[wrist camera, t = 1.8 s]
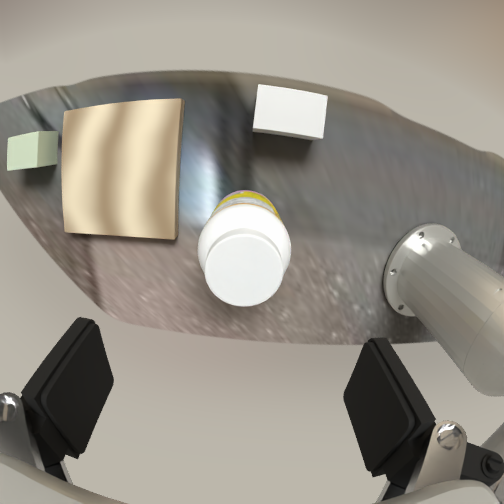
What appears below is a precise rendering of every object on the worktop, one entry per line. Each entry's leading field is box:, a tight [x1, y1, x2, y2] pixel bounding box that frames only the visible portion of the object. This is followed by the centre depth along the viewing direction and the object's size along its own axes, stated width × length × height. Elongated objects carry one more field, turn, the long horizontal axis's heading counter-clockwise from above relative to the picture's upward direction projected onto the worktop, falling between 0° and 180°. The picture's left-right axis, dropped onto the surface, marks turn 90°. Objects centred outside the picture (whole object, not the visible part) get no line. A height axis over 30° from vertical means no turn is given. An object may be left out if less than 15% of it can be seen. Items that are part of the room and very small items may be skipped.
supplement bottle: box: [198, 190, 291, 306], centre depth 22 cm, size 7×7×13 cm
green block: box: [7, 131, 59, 171], centre depth 23 cm, size 6×4×4 cm, turn 84°
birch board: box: [62, 99, 185, 239], centre depth 25 cm, size 14×14×2 cm
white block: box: [252, 84, 327, 140], centre depth 23 cm, size 6×4×4 cm, turn 83°
